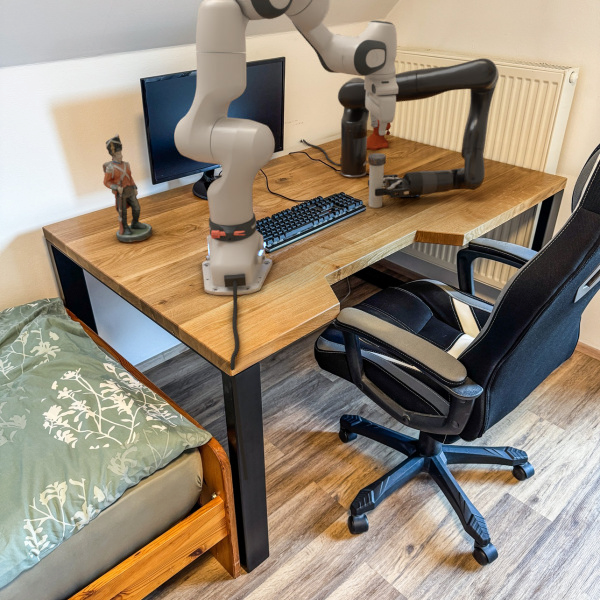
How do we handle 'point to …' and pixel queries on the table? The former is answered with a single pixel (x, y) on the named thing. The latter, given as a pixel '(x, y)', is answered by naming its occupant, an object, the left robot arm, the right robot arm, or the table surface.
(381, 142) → the toy
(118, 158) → the figurine
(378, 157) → the lid
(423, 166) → the table surface
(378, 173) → the white cylinder
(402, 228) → the table surface
